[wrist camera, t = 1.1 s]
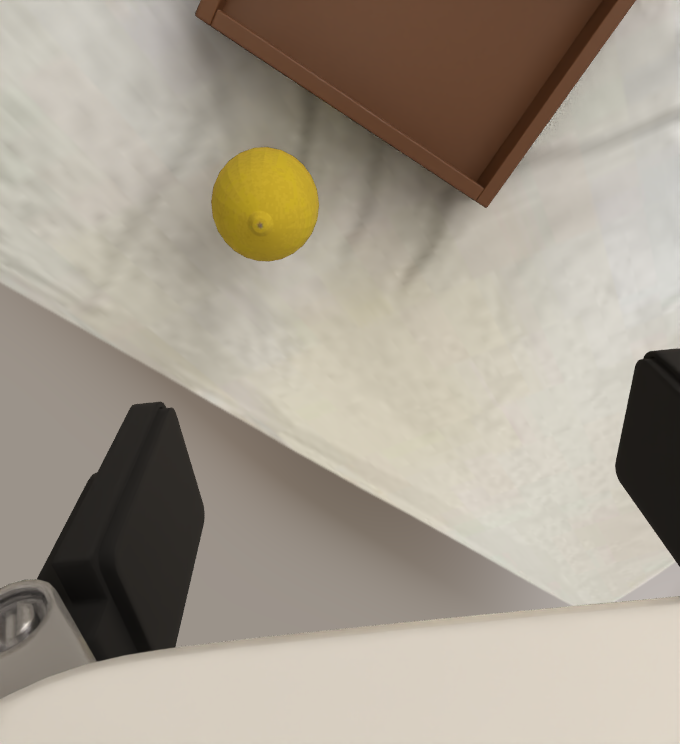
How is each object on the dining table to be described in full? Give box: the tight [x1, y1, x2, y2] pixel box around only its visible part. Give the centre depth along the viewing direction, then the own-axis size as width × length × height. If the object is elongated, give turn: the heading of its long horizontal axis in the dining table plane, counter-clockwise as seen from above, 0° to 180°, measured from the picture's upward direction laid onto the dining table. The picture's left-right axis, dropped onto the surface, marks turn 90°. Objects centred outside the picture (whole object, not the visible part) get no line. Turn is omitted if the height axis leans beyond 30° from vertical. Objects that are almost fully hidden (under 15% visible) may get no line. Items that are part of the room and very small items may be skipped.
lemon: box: [211, 147, 319, 261], centre depth 29 cm, size 6×6×8 cm
